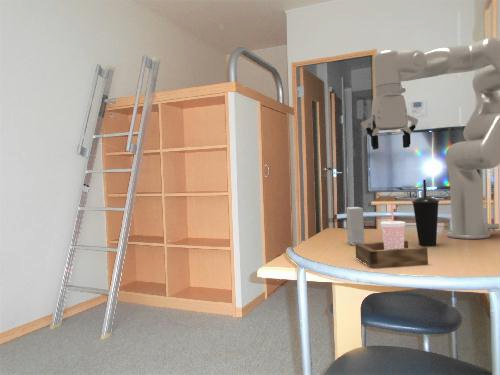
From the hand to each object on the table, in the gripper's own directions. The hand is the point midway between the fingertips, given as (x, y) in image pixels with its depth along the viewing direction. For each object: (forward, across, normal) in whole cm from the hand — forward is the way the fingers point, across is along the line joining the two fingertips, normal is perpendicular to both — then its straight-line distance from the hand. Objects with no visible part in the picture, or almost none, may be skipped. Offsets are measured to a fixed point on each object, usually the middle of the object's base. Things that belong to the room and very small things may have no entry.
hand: (391, 148), depth 121 cm
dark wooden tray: (+30, +10, +20) cm, 38 cm away
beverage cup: (+30, +9, +20) cm, 37 cm away
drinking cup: (+31, -9, +2) cm, 32 cm away
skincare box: (+31, +10, -8) cm, 33 cm away
